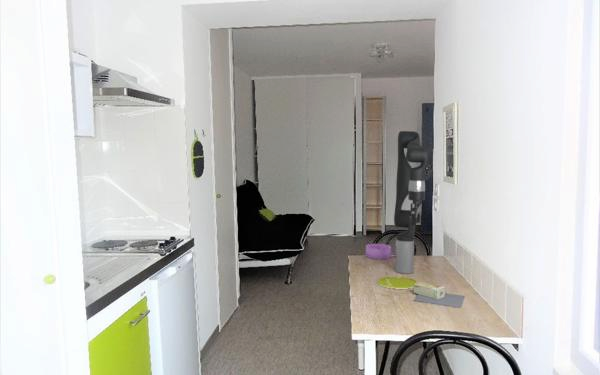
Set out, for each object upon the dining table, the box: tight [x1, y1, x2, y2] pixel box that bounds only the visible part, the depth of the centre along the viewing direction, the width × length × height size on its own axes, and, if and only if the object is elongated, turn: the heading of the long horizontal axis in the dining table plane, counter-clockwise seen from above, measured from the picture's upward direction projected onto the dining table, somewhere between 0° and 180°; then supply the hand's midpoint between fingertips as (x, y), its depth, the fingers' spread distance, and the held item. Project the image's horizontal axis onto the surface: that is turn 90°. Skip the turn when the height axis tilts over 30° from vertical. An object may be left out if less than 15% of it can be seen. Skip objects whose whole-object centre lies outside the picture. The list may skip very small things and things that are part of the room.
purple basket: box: [365, 238, 397, 260], centre depth 275 cm, size 25×15×13 cm, turn 80°
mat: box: [413, 292, 466, 309], centre depth 197 cm, size 16×19×1 cm
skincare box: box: [413, 281, 446, 299], centre depth 201 cm, size 6×4×12 cm
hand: (415, 224), depth 213 cm, fingers open, 8 cm apart
